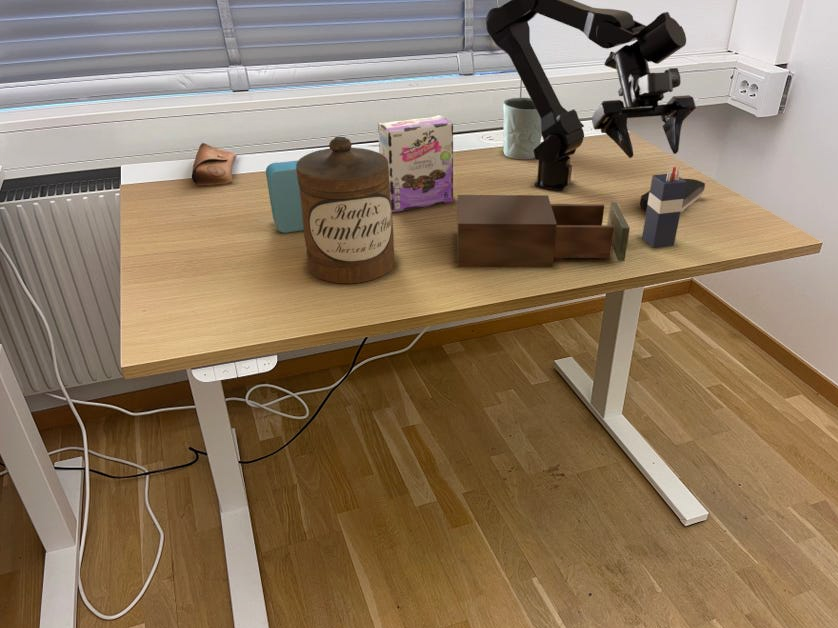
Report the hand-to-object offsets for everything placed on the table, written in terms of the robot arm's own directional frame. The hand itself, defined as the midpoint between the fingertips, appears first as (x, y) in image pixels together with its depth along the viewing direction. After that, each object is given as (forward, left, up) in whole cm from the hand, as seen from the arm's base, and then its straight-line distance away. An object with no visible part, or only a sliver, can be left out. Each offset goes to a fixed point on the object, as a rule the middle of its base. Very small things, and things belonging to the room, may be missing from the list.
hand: (654, 154), depth 129 cm
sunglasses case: (-94, -12, -15) cm, 95 cm away
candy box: (-45, -8, -15) cm, 48 cm away
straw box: (+4, -5, -14) cm, 16 cm away
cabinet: (-21, -21, -14) cm, 33 cm away
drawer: (-8, -15, -14) cm, 22 cm away
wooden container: (-43, -37, -15) cm, 59 cm away
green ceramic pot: (-36, +30, -15) cm, 49 cm away
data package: (-59, -27, -15) cm, 66 cm away
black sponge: (+3, +14, -15) cm, 20 cm away
